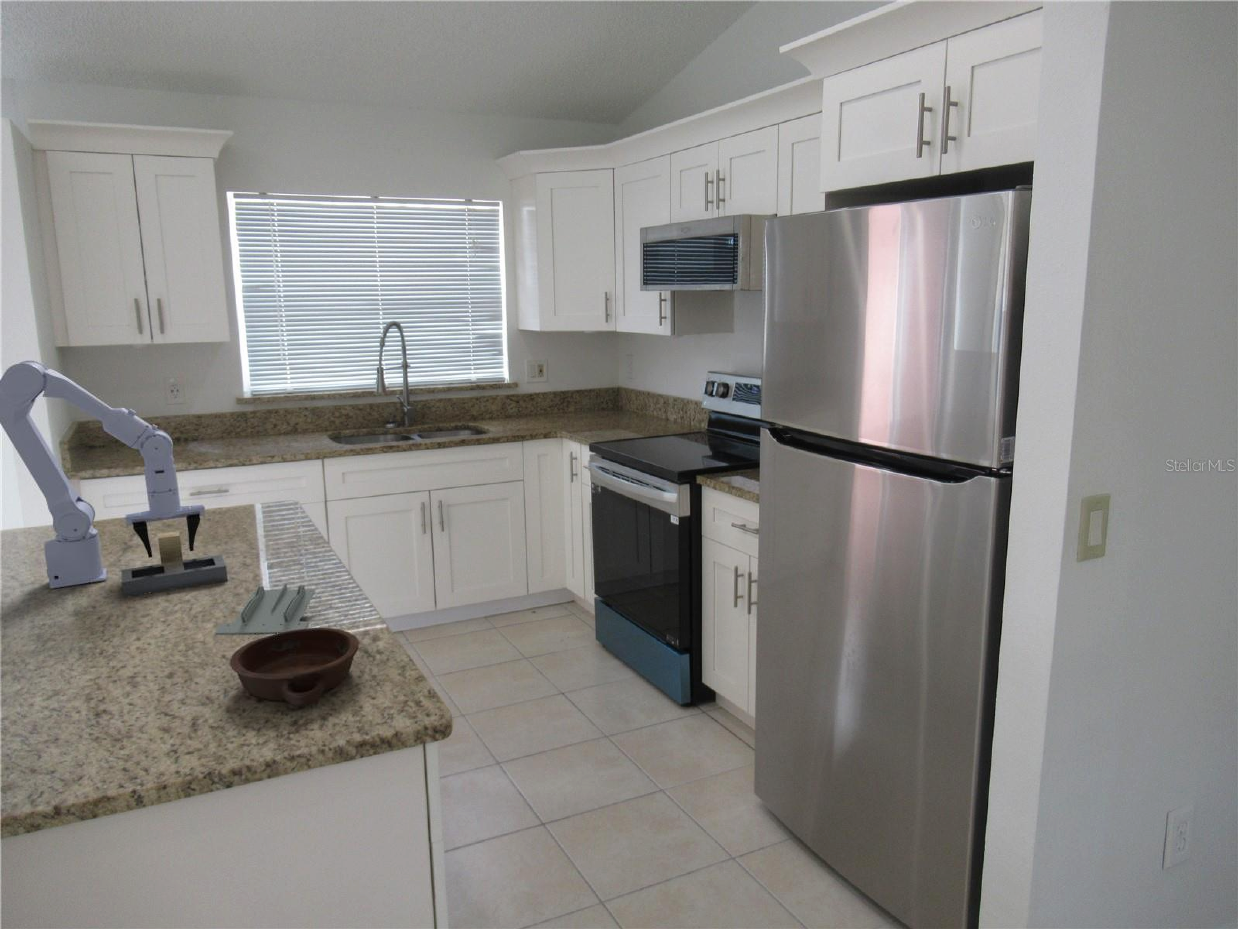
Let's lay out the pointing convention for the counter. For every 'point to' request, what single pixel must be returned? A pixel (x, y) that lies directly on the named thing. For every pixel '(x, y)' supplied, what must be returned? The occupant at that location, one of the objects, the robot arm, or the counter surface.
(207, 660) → the counter surface
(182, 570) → the grey slotted block
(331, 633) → the dish
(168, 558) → the brass peg
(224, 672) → the counter surface
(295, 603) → the metal bracket
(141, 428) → the robot arm
